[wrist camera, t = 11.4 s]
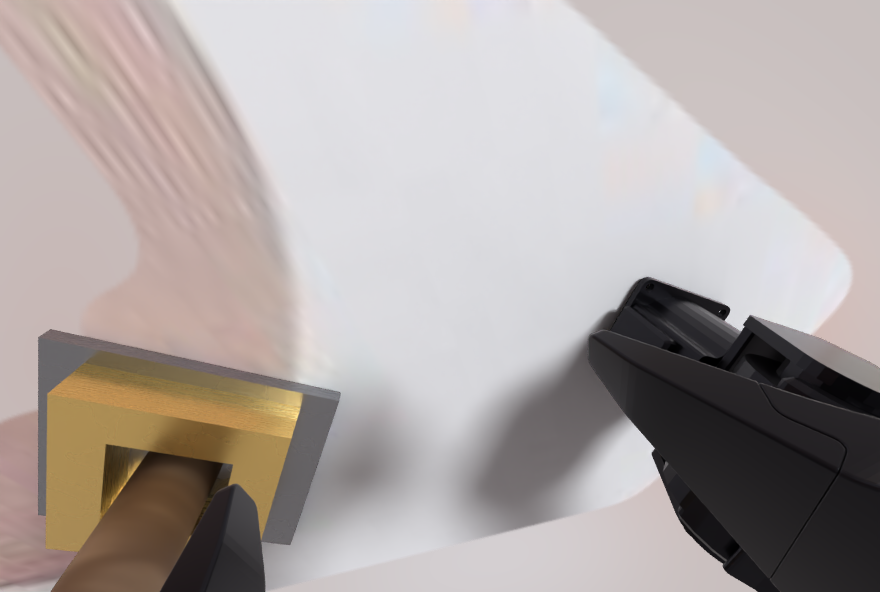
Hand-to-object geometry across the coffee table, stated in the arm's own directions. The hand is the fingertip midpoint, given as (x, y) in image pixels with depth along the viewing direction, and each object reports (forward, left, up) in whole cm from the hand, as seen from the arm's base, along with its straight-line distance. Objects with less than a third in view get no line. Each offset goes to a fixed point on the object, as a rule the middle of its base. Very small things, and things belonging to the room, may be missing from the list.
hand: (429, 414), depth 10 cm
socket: (+8, +16, -13) cm, 22 cm away
